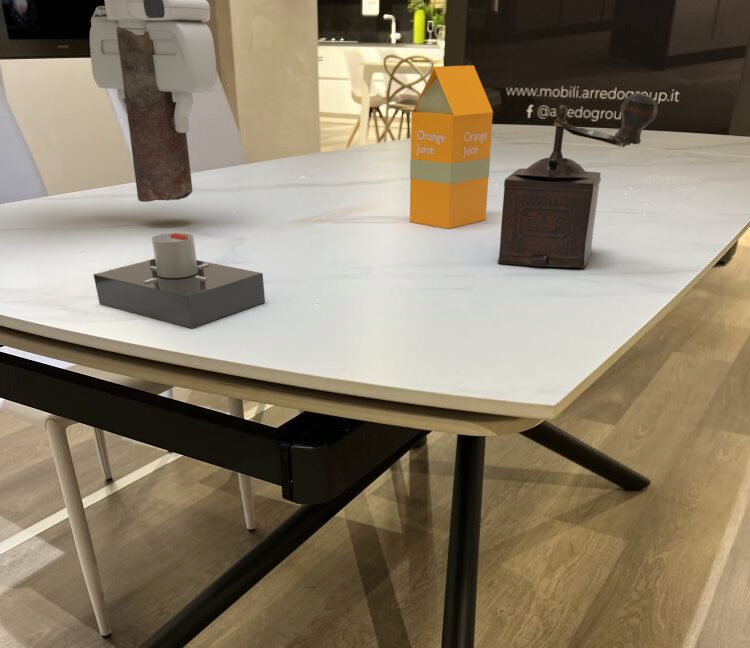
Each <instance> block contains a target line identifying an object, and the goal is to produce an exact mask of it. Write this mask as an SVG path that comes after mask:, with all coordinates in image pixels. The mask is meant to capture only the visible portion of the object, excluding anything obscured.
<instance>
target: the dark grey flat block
mask: <svg viewBox="0 0 750 648" xmlns="http://www.w3.org/2000/svg"><path fill="white" fill-rule="evenodd" d="M196 261H197V268H198V273H197V274H195V275H193V276H189V277H184V278H163V277H160V276H158V275H157V269H156V263H155V258H152V259H149V260H145V261H141V262H137V263H133V264H129V265H124V266H121V267H117V268H113V269H109V270H106V271H101V272H98V273H94V274H93V279H94V280H93V281H94V284H95V289H96V293H97V299H98V303H99V304H100V305H103V306H107V307H111V308H114V309H118V310H122V311H126V312H130V313H134V314H137V315H141V316H143V317H149V318H152V319H156V320H160V321H163V322H167V323H171V324H174V325H178V326H182V327H185V328H189V329H194V328H197V327H199V326H203V325H205V324H208V323H210V322H214V321H217V320H219V319H222V318H226V317H228V316H230V315H233V314H236V313H240V312H242V311H245V310H247V309H251V308H253V307H256V306H259V305H263V304H265V303H266V295H265V294H266V293H265V284H264V273H263V272H259V271H253V270H248V269H243V268H238V267H234V266H228V265H223V264H218V263H213V262H208V261H203V260H198V259H196Z"/></svg>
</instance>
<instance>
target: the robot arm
mask: <svg viewBox="0 0 750 648" xmlns="http://www.w3.org/2000/svg"><path fill="white" fill-rule="evenodd" d="M210 19H211V7H210V3H209V1H207V0H104V5H99V6H97V7H96V8H95V10H94V12H93V14H92V17H90V25H91V27H90V29H89V49H90V50H89V51H90V52H89V53H90V62H91V63H90V64H91V69H92V70H91V71H92V77H93V80H94V82H95V84H96V86H97V87H98V88H100V89H108V90H116V91H117V97H118V100H119V102H120V104H121V106H122V108H123V110H124V112H125V113H126V117H127V118H128V115H127V108H126V100H125V92H124V84H123V76H122V69H121V62H120V54H119V47H118V37H117V27H119V28H121V29H122V30H123V29H124V30H128V31H131V32H133V33H134V34H135V35H144V33H145V31H147V32H149V37H150V40H153V45H154V51H155V55H153V60H154V67H155V75H156V83H157V87H158V89H159V90H160V91H166V92H172V98H173V102H176V107H175V112H174V117H170V123H171V130H172V131H173V132H177V133H186V134H187V133H188V132H190V124H189V123H190V122H189V117H190V113H191V110H192V107H193V103H194V98H193V94H205V93H213V92H214V90H215V88H216V85H217V82H218V70H217V69H218V68H217V59H216V49H215V43H214V37H213V34H212V31H211V29H210V27H209V25H207V24H206V22H209V21H210Z"/></svg>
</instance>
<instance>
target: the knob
mask: <svg viewBox="0 0 750 648" xmlns="http://www.w3.org/2000/svg"><path fill="white" fill-rule="evenodd" d="M151 244H152V248H153V250H152V251H153V256H154V259H155V263H156V269H157V275H158V276H160V277H163V278H184V277H189V276H193V275H195V274H197V273H198V268H197V261H196V260H197V254H196V247H195V246H196V245H195V239H194V235H193V234H190V233H186V232H167V233H161V234H157V235H155V236H152V237H151Z"/></svg>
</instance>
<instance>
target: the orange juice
mask: <svg viewBox="0 0 750 648" xmlns="http://www.w3.org/2000/svg"><path fill="white" fill-rule="evenodd" d="M423 87H424V88H423V89H422V91H421V94H420V95H419V98H418V99H417V102H416V104H415V106H414V107H413V109H412V111H411V117H410V119H411V121H410V159H409V160H410V162H409V164H410V165H409V168H410V170H409V179H410V183H409V184H410V187H409V188H410V189H409V198H410V199H409V223H413V224H420V225H425V226H430V227H436V228H441V229H447V230H449V229H455V228H458V227H462V226H466V225H470V224H475V223H479V222H483V221H486V220H487V219H486V218H487V204H488V191H489V190H488V189H489V177H490V167H491V166H490V165H491V164H490V163H491V144H492V128H493V116H494V111H493V107H492V106H491V103H490V101H489V98H488V96H487V94H486V91H485V89H484V86H483V84H482V82H481V79H480V76H479V75H478V71H477V70H476V67H475V65H473V64H472V65H447V66H446V65H443V66H433V69H432V71H431V73H430V75H429V77H428V79H427V81H426V83H425V85H424V86H423Z"/></svg>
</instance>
